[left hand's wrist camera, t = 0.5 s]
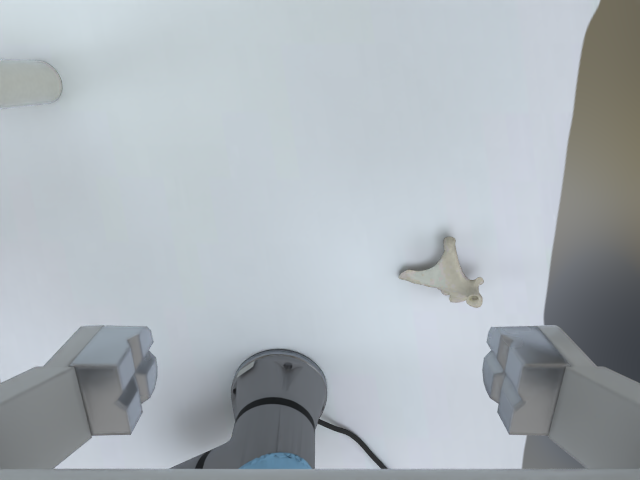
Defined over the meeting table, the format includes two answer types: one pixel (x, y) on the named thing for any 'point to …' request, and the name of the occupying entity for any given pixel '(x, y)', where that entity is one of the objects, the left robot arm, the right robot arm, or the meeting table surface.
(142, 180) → the meeting table surface
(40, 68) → the jar
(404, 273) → the bone
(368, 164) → the meeting table surface
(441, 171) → the meeting table surface
